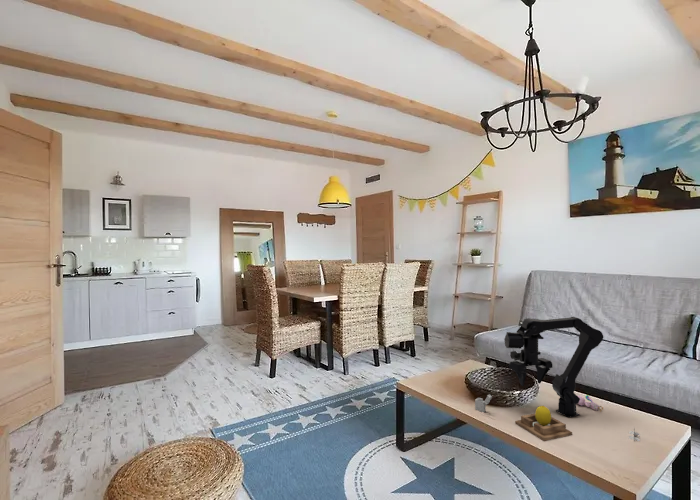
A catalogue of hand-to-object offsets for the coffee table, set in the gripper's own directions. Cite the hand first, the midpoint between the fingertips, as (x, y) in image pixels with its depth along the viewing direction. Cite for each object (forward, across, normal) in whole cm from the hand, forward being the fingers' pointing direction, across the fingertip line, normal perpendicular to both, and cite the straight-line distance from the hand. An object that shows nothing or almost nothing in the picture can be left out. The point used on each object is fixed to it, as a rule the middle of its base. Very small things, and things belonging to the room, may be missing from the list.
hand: (530, 384), depth 155 cm
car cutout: (+13, -24, +27) cm, 38 cm away
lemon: (+11, +7, +13) cm, 18 cm away
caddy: (+12, +7, +13) cm, 19 cm away
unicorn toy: (+12, -28, +2) cm, 30 cm away
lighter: (+12, +19, -7) cm, 24 cm away
